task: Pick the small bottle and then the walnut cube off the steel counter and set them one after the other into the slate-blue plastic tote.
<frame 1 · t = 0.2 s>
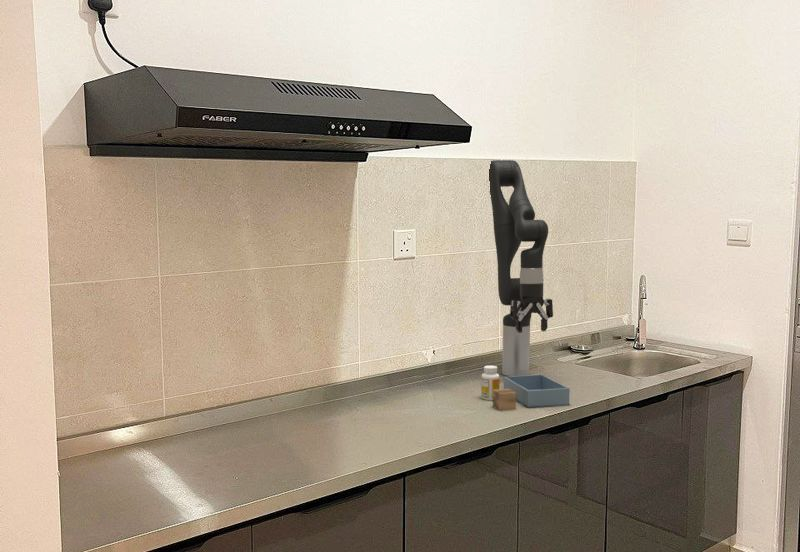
hand: (531, 331, 249), 17 cm above the worktop, tool pointing down, fingers open, 8 cm apart
tote: (535, 398, 232), on the worktop
supplement bottle: (490, 398, 233), on the worktop
cube: (504, 408, 222), on the worktop
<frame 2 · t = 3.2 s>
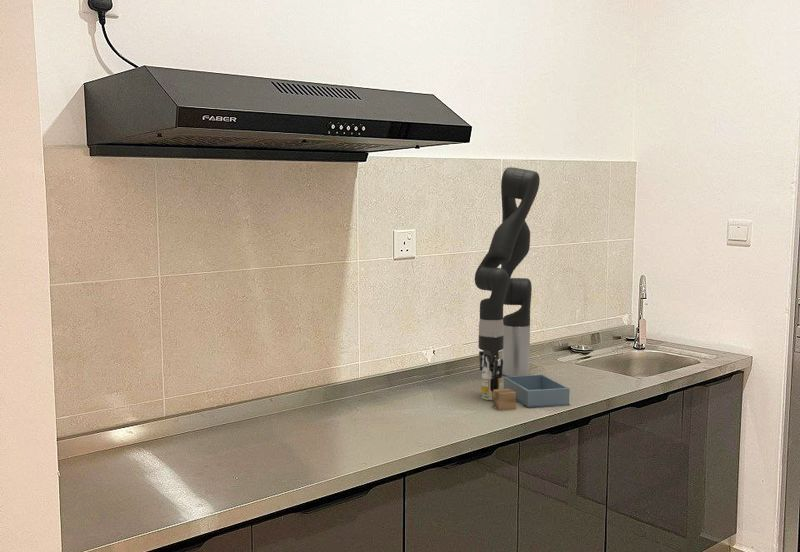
hand: (490, 388, 233), 3 cm above the worktop, tool pointing down, fingers closed on supplement bottle, 5 cm apart
supplement bottle: (490, 398, 233), on the worktop, touching gripper
everything else where it was.
when the fingers open (5 cm above the worktop, at t = 8.3 s): supplement bottle drops 1 cm, resting on tote.
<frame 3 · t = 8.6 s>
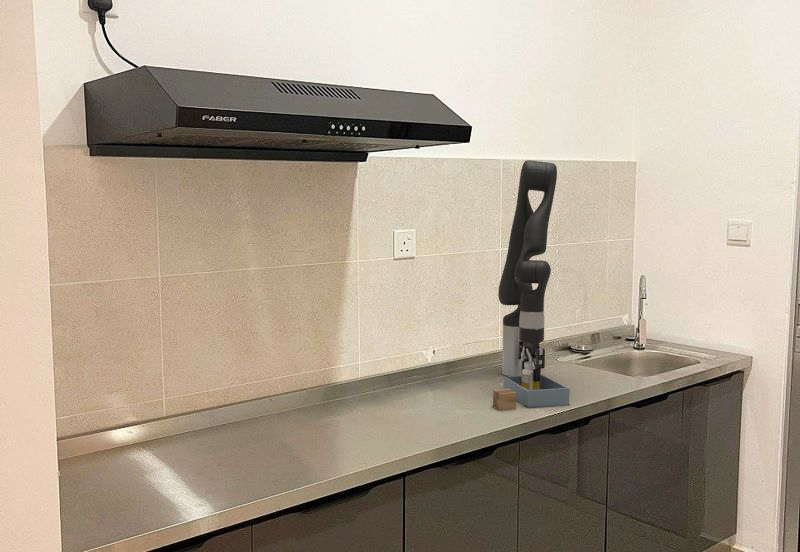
hand: (530, 378, 235), 6 cm above the worktop, tool pointing down, fingers open, 8 cm apart
supplement bottle: (530, 394, 236), resting on tote
everything else where it was.
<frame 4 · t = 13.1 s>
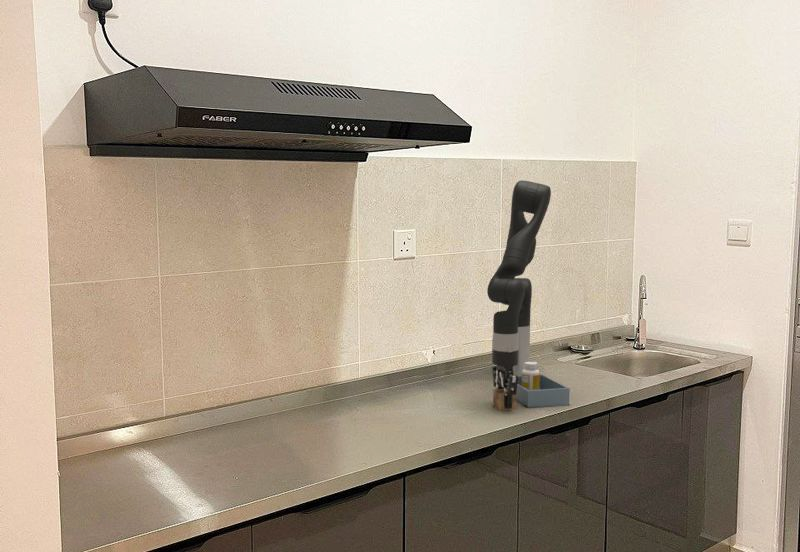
hand: (504, 405, 222), 1 cm above the worktop, tool pointing down, fingers closed on cube, 5 cm apart
cube: (504, 407, 222), on the worktop, touching gripper
everything else where it was.
when the fingers open (4 cm above the worktop, at t = 18.2 s): cube drops 3 cm, resting on tote.
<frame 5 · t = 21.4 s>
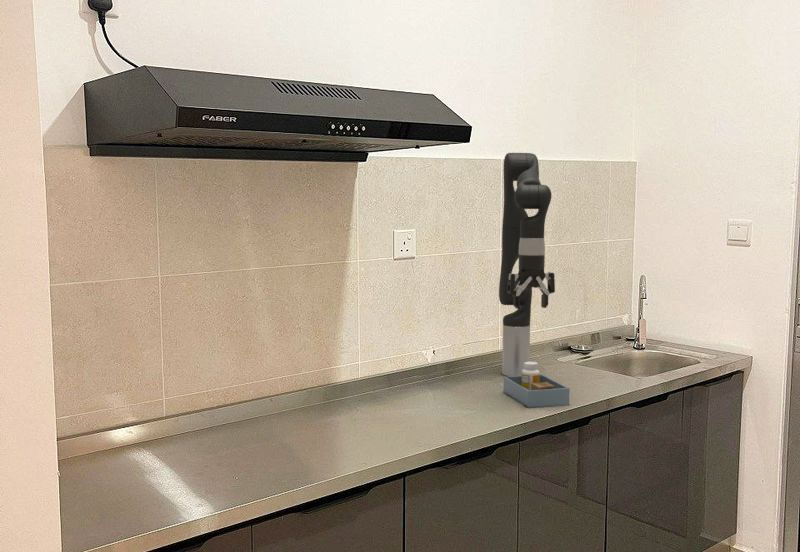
hand: (530, 308, 227), 28 cm above the worktop, tool pointing down, fingers open, 8 cm apart
cube: (542, 401, 228), resting on tote
everything else where it was.
at the end: supplement bottle inside the target area on the tote (3.7 cm from its centre), point 0.3 cm above the tote's base; cube inside the target area on the tote (5.0 cm from its centre), point 0.5 cm above the tote's base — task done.
